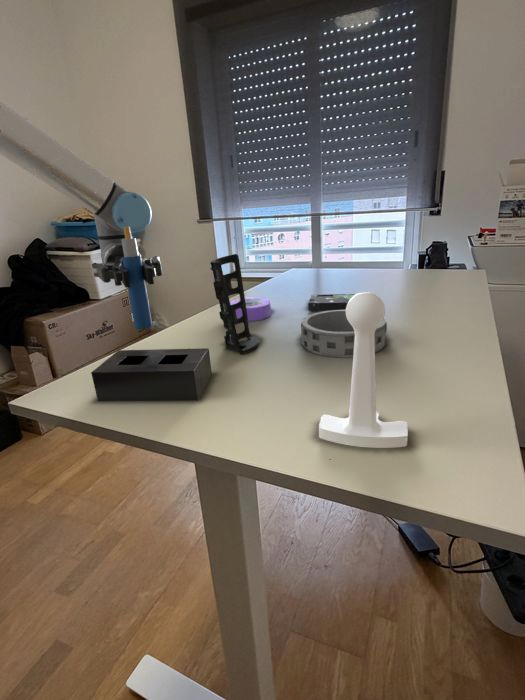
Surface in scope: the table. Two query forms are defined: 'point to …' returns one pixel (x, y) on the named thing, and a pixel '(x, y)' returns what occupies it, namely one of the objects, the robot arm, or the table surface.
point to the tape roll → (255, 308)
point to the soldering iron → (136, 282)
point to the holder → (229, 311)
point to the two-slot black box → (153, 375)
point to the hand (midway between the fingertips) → (138, 277)
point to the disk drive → (329, 302)
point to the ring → (334, 334)
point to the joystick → (364, 386)
